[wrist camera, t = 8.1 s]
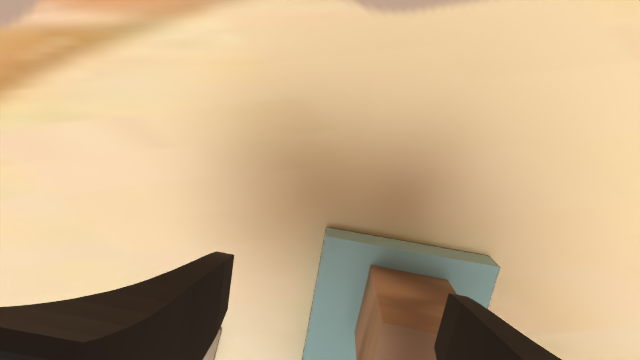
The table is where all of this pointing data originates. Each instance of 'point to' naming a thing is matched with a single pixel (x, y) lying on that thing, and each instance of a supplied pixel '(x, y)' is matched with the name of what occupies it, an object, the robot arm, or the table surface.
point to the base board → (351, 276)
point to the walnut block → (400, 315)
